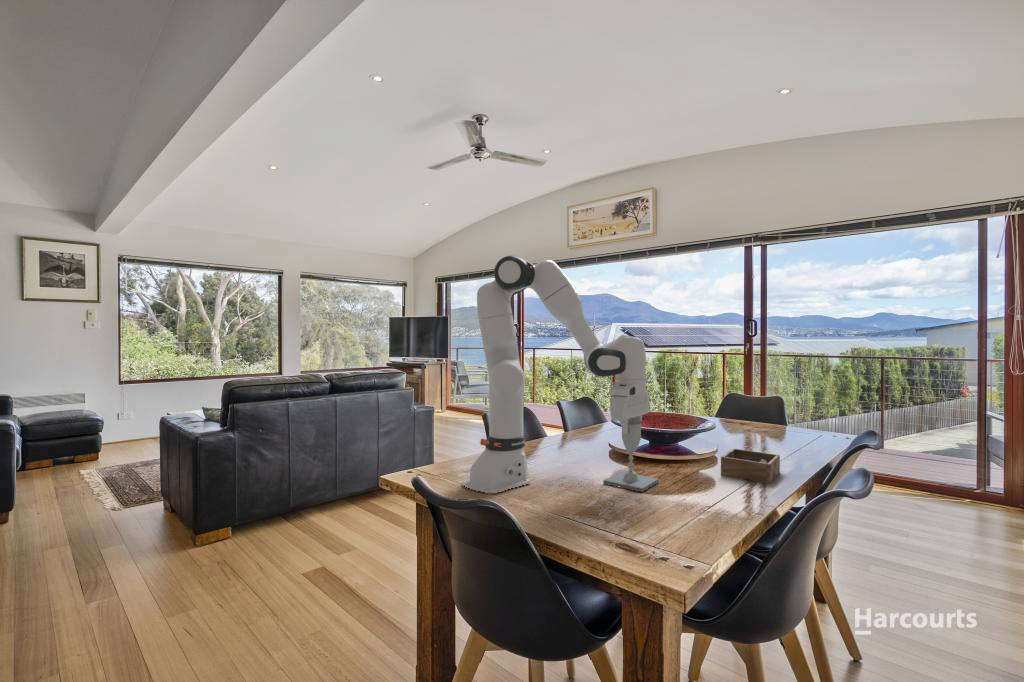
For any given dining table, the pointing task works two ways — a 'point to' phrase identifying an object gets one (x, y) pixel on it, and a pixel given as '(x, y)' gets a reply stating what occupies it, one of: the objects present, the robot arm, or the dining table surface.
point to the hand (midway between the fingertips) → (631, 431)
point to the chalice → (632, 447)
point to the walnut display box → (750, 465)
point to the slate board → (639, 485)
